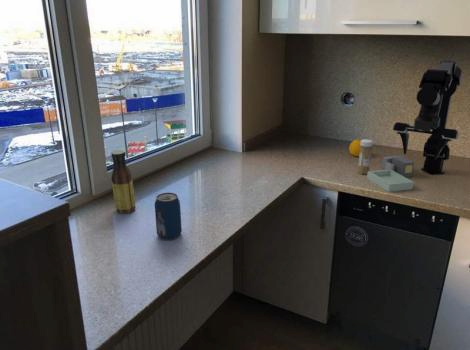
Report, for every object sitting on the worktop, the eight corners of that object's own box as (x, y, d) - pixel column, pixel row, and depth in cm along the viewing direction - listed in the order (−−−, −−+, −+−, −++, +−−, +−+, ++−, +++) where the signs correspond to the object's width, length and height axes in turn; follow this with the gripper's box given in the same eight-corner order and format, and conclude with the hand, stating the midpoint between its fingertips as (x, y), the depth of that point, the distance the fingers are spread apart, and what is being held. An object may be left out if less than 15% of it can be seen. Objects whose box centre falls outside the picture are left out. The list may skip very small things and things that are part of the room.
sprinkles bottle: (367, 175, 158) (371, 142, 153) (356, 173, 160) (359, 141, 155) (370, 171, 162) (374, 139, 157) (358, 170, 164) (362, 138, 159)
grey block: (398, 170, 164) (400, 156, 162) (411, 177, 157) (414, 162, 154) (390, 171, 163) (392, 157, 161) (402, 177, 156) (405, 163, 154)
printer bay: (397, 166, 167) (399, 155, 166) (407, 172, 161) (409, 160, 160) (381, 168, 166) (383, 157, 164) (391, 173, 160) (393, 161, 158)
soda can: (182, 229, 116) (180, 191, 112) (180, 241, 110) (178, 201, 106) (159, 229, 116) (156, 191, 112) (155, 241, 110) (152, 202, 105)
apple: (345, 154, 184) (346, 138, 182) (358, 152, 187) (360, 136, 185) (356, 159, 177) (358, 142, 175) (370, 156, 180) (372, 140, 178)
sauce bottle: (128, 204, 132) (122, 147, 125) (139, 209, 129) (134, 150, 122) (111, 211, 128) (104, 151, 121) (123, 216, 124) (116, 155, 117)
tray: (389, 175, 157) (390, 169, 156) (412, 189, 145) (413, 182, 144) (366, 178, 155) (367, 171, 154) (388, 191, 142) (389, 184, 141)
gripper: (394, 103, 126) (384, 151, 129) (460, 110, 116) (448, 162, 118) (401, 106, 135) (392, 152, 138) (463, 113, 125) (452, 162, 128)
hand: (419, 156), depth 130 cm, fingers open, 9 cm apart
